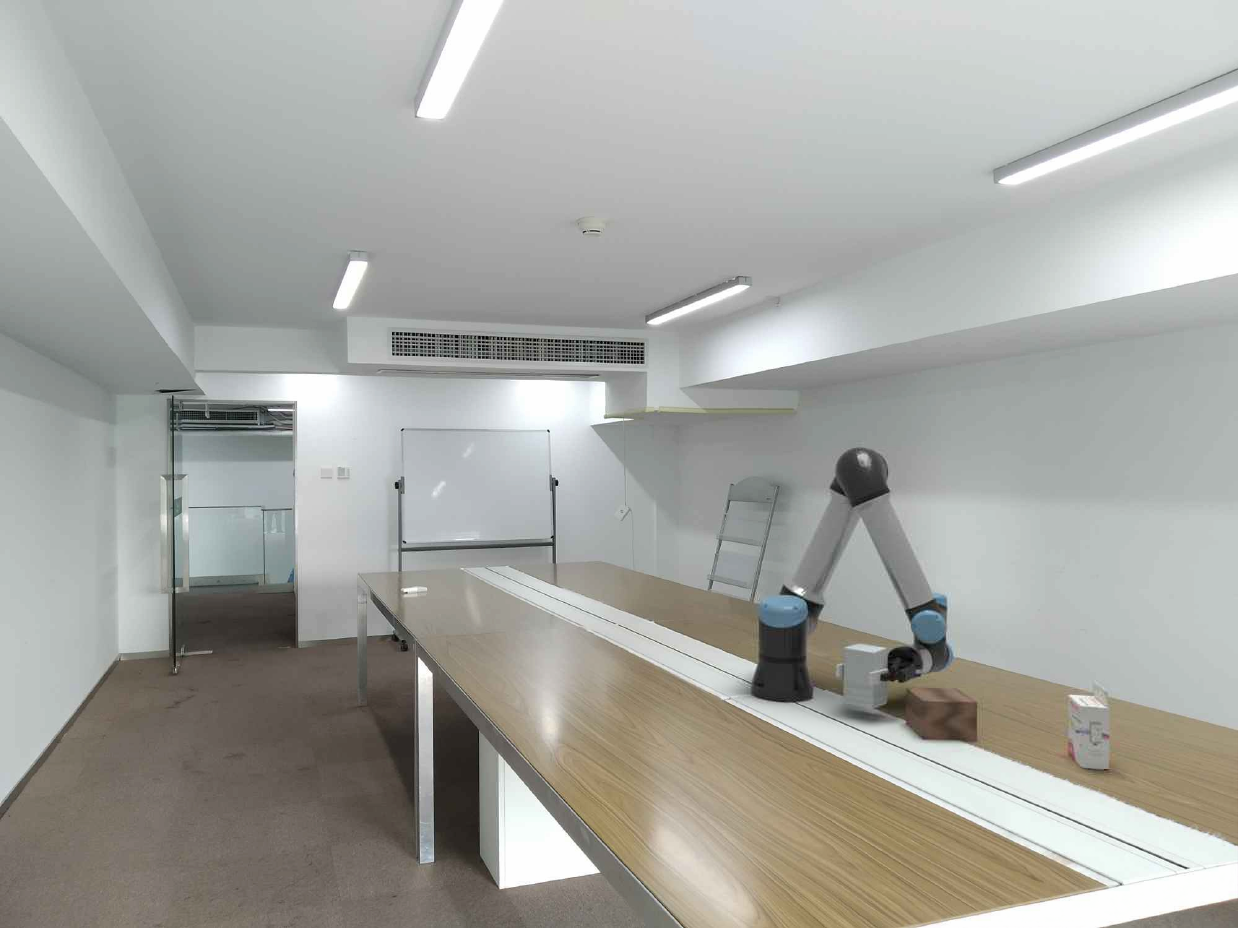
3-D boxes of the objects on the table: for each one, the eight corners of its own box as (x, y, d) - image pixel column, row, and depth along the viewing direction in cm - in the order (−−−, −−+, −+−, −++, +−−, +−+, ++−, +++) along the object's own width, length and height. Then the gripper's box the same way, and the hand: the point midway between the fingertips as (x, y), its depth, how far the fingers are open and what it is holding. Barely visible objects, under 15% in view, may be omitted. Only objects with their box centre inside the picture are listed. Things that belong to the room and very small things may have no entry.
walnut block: (922, 739, 173) (923, 701, 173) (905, 723, 184) (906, 687, 184) (976, 741, 173) (977, 702, 173) (956, 724, 184) (956, 688, 184)
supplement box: (887, 703, 190) (889, 647, 190) (872, 709, 184) (873, 652, 184) (857, 696, 195) (859, 642, 195) (841, 702, 189) (843, 646, 190)
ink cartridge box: (1066, 753, 165) (1066, 678, 166) (1094, 755, 164) (1094, 680, 165) (1081, 768, 157) (1081, 689, 157) (1110, 770, 156) (1110, 691, 156)
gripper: (948, 686, 193) (895, 702, 179) (870, 668, 209) (814, 681, 194) (949, 654, 194) (896, 667, 179) (871, 638, 209) (815, 649, 194)
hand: (853, 674), depth 186 cm, fingers closed on supplement box, 8 cm apart
